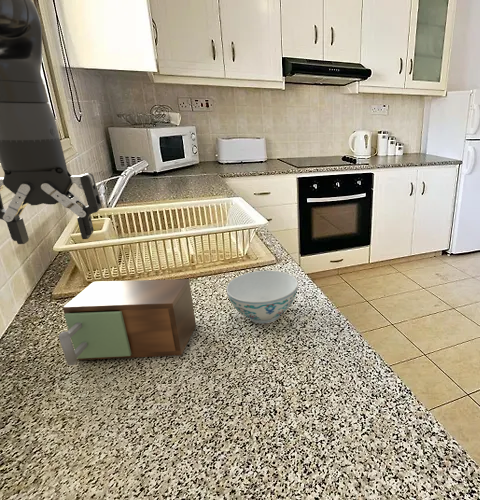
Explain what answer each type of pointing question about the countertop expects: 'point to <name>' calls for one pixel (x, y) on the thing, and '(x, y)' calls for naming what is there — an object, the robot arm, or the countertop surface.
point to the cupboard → (144, 313)
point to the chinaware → (262, 294)
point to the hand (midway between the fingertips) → (55, 240)
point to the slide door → (94, 336)
